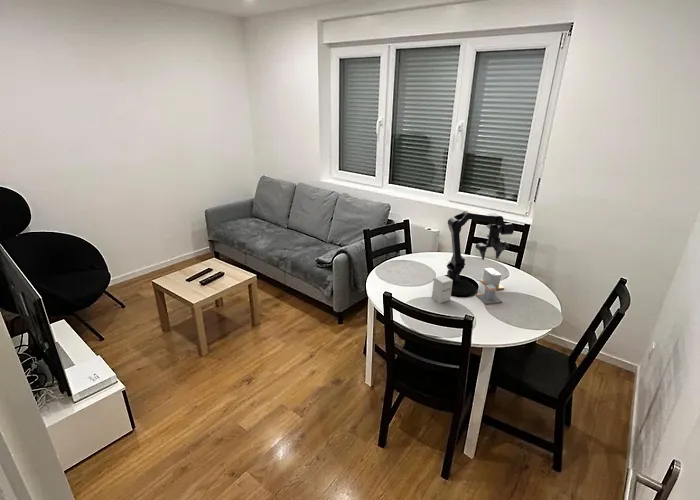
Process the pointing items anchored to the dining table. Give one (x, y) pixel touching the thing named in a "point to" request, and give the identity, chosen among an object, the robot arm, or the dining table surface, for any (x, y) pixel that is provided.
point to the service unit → (492, 278)
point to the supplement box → (442, 288)
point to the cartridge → (489, 292)
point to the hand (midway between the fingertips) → (489, 259)
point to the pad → (485, 301)
